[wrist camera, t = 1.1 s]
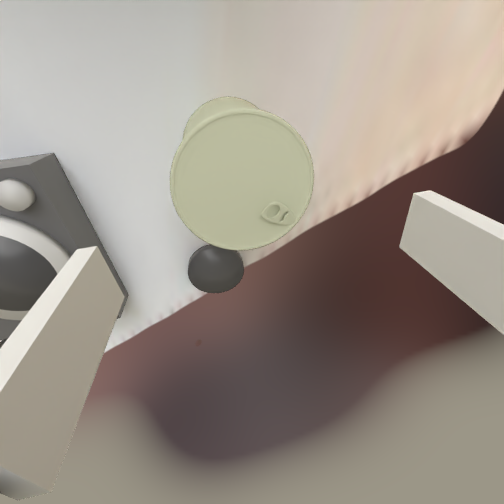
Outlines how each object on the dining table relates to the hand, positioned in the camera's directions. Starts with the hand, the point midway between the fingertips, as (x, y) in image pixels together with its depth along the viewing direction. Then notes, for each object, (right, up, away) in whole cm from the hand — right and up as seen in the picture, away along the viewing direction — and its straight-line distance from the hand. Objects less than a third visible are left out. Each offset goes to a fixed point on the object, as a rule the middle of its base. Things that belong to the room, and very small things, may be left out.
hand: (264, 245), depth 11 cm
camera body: (-25, 0, +17) cm, 30 cm away
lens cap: (-5, -2, +22) cm, 23 cm away
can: (-3, +10, +15) cm, 18 cm away
